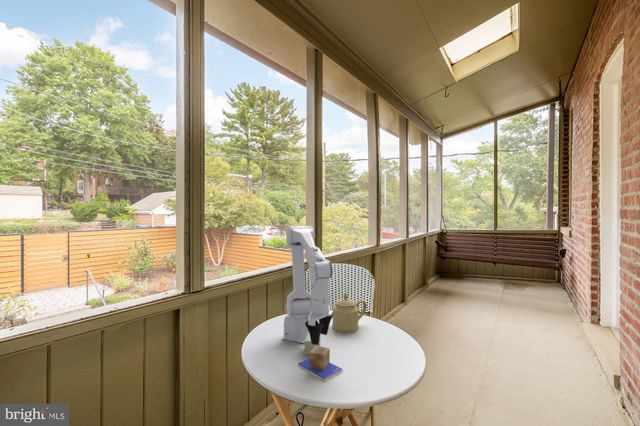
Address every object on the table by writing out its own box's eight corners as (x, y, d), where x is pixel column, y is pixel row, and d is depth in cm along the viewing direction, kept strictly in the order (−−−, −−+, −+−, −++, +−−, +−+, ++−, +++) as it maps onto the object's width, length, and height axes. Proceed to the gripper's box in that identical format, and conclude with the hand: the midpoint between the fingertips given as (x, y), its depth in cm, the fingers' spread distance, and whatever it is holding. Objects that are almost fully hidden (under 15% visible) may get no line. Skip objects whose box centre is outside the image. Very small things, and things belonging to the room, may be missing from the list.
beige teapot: (346, 317, 148) (346, 285, 147) (367, 323, 141) (368, 290, 140) (327, 328, 136) (327, 293, 135) (349, 335, 129) (350, 298, 128)
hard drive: (342, 368, 103) (315, 354, 111) (325, 378, 97) (298, 362, 106) (342, 373, 103) (315, 358, 112) (325, 383, 97) (298, 367, 106)
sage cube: (304, 354, 113) (304, 340, 113) (306, 348, 118) (307, 334, 118) (318, 355, 112) (318, 341, 112) (320, 348, 117) (320, 335, 117)
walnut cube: (309, 367, 103) (309, 352, 103) (315, 359, 108) (315, 345, 107) (323, 370, 101) (324, 355, 101) (329, 363, 106) (329, 348, 105)
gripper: (323, 307, 95) (322, 351, 96) (339, 293, 109) (338, 332, 110) (302, 303, 98) (301, 346, 99) (319, 290, 111) (319, 328, 112)
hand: (319, 339), depth 104 cm, fingers open, 7 cm apart
